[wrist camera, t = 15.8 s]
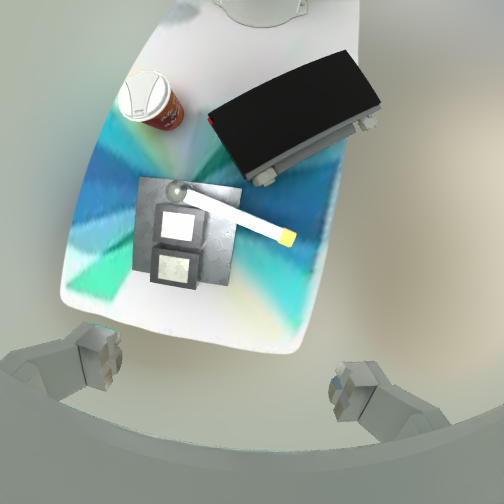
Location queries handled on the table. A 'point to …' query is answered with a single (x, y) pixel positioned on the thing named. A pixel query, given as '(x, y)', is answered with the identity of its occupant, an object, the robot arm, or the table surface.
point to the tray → (183, 235)
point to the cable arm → (228, 212)
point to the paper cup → (150, 101)
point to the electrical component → (295, 116)
